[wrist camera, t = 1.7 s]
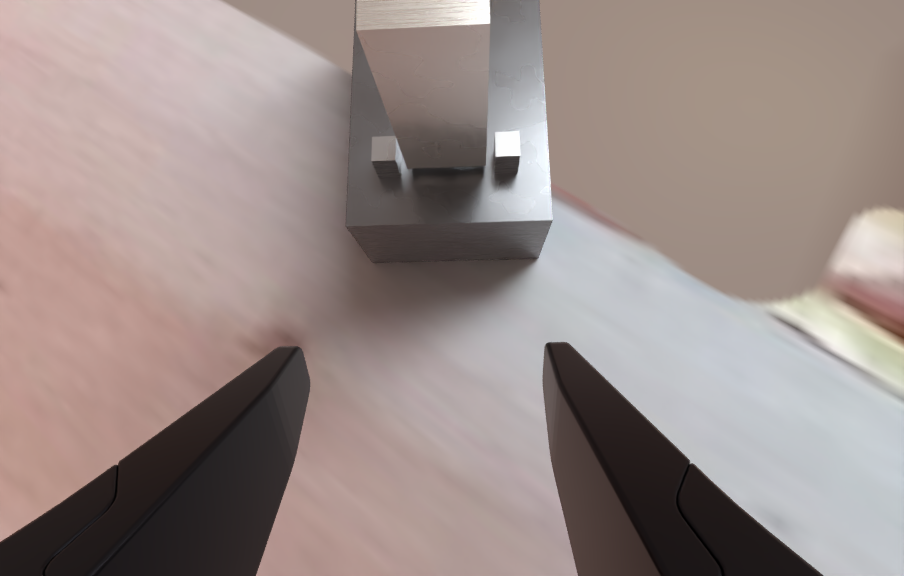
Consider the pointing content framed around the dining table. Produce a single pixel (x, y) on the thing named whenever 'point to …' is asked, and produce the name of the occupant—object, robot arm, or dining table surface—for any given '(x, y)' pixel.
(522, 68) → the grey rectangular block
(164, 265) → the dining table surface
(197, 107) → the dining table surface
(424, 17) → the light grey flat bar
